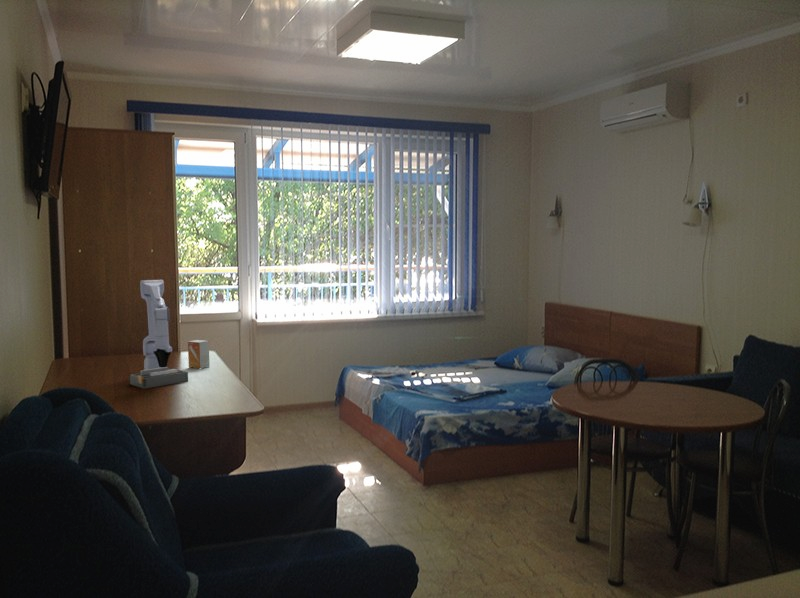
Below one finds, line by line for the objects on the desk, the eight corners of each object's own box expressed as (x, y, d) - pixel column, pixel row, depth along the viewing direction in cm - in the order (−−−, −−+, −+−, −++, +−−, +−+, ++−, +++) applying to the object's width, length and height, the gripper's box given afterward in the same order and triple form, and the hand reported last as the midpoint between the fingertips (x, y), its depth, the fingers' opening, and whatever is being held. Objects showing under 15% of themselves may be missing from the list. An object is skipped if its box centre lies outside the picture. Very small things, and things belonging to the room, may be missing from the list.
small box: (188, 367, 331) (187, 341, 330) (198, 365, 337) (197, 339, 336) (200, 368, 327) (199, 342, 326) (210, 366, 333) (209, 340, 332)
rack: (129, 384, 292) (128, 371, 291) (173, 377, 306) (173, 365, 306) (142, 388, 282) (142, 375, 282) (188, 381, 297) (187, 368, 296)
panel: (176, 380, 296) (175, 369, 296) (177, 380, 295) (177, 369, 295) (149, 384, 288) (149, 372, 287) (151, 385, 287) (150, 373, 286)
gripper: (145, 335, 292) (146, 366, 293) (160, 338, 282) (161, 370, 283) (160, 333, 297) (162, 364, 298) (176, 336, 287) (177, 367, 288)
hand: (163, 367), depth 291 cm, fingers closed
